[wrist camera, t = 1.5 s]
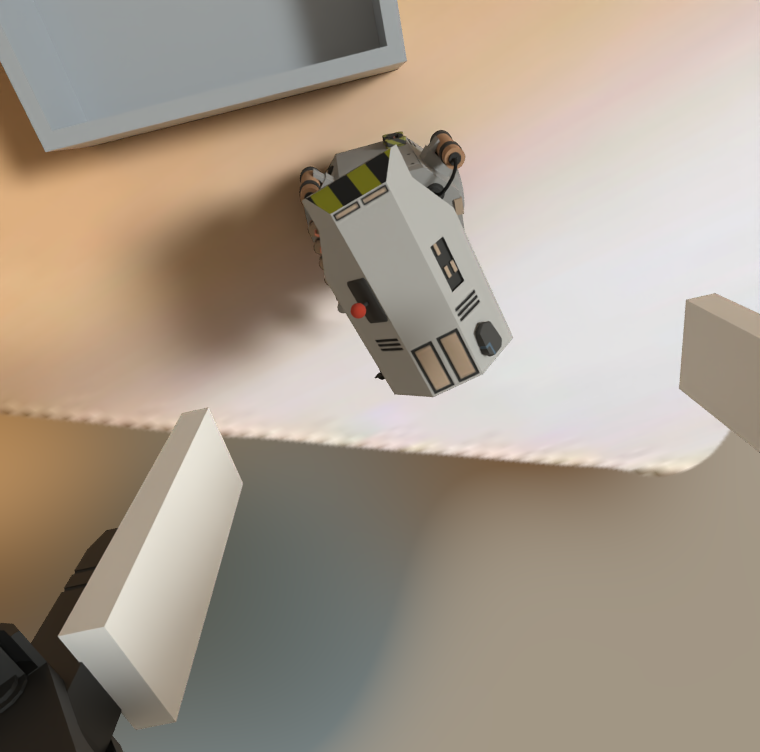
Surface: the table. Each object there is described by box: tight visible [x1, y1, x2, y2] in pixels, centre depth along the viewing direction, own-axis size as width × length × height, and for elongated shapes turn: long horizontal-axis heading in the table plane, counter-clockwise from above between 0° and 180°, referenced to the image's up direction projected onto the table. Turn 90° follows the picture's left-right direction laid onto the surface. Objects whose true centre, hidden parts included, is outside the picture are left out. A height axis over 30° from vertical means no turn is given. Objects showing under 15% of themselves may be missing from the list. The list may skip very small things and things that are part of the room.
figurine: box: [300, 130, 513, 397], centre depth 26 cm, size 9×12×15 cm
